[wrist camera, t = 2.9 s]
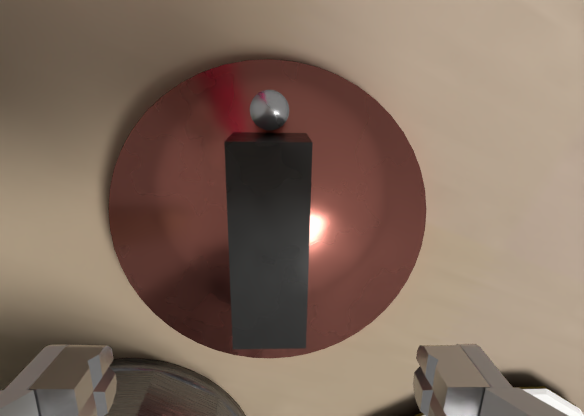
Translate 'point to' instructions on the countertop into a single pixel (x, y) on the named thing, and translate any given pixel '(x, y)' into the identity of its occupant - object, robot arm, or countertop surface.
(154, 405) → the pot
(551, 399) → the plate
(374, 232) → the lid
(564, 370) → the countertop surface
